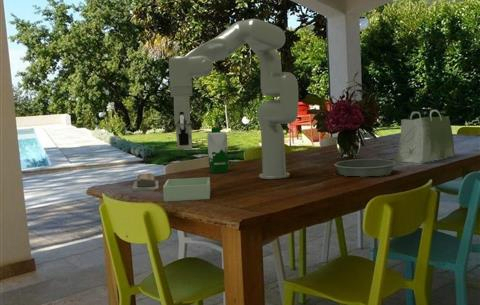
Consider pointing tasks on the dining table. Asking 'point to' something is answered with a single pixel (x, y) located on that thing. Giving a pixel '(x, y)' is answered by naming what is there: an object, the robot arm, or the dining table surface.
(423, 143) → the grocery bag
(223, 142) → the milk carton
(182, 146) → the cream block
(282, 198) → the dining table surface
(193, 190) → the sage bin
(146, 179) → the packaged product
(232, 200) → the dining table surface
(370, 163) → the cake pan
